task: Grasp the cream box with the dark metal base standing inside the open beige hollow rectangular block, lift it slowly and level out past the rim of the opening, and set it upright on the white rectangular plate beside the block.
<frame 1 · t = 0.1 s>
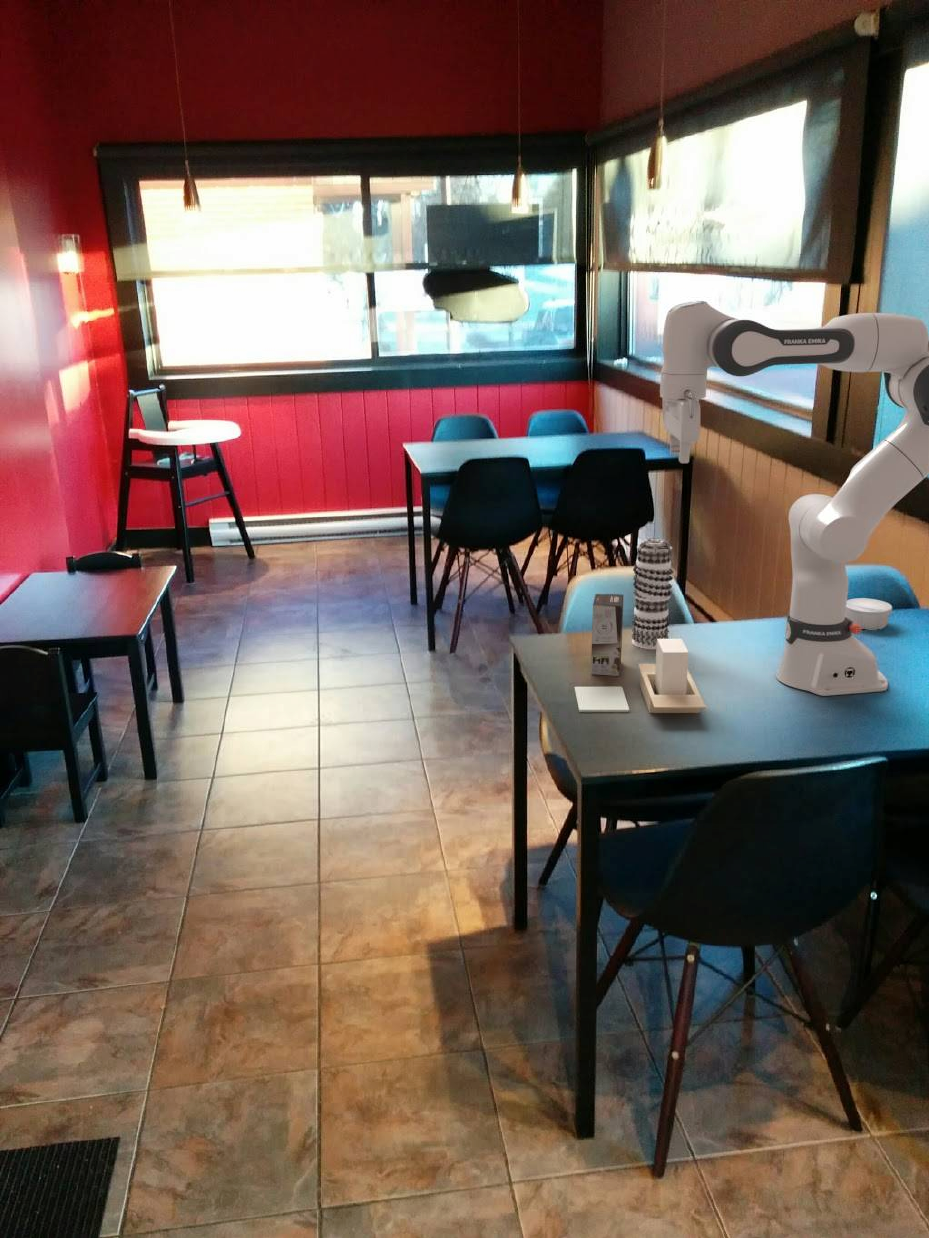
hand: (679, 458, 200), 48 cm above the table, tool pointing down, fingers open, 8 cm apart
beige hollow rectangular block: (669, 699, 205), on the table
ramekin: (865, 625, 248), on the table
white rectangular plate: (601, 700, 206), on the table
coffee box: (606, 668, 223), on the table
decorative candle: (649, 644, 237), on the table
cream box: (669, 700, 205), resting in beige hollow rectangular block
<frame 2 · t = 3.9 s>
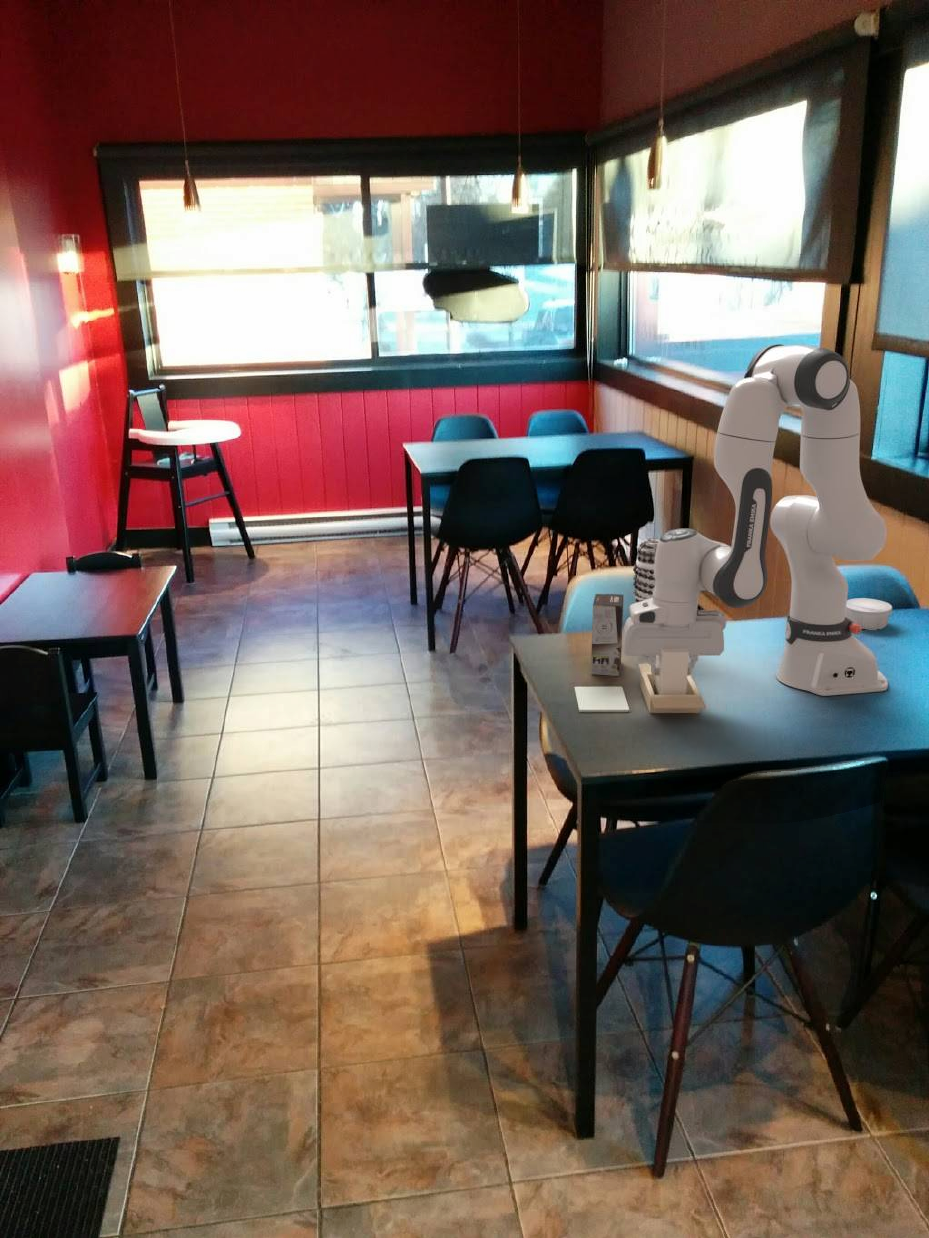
hand: (670, 674, 203), 6 cm above the table, tool pointing down, fingers closed on cream box, 5 cm apart
cream box: (669, 700, 205), resting in beige hollow rectangular block, touching gripper
everything else where it was.
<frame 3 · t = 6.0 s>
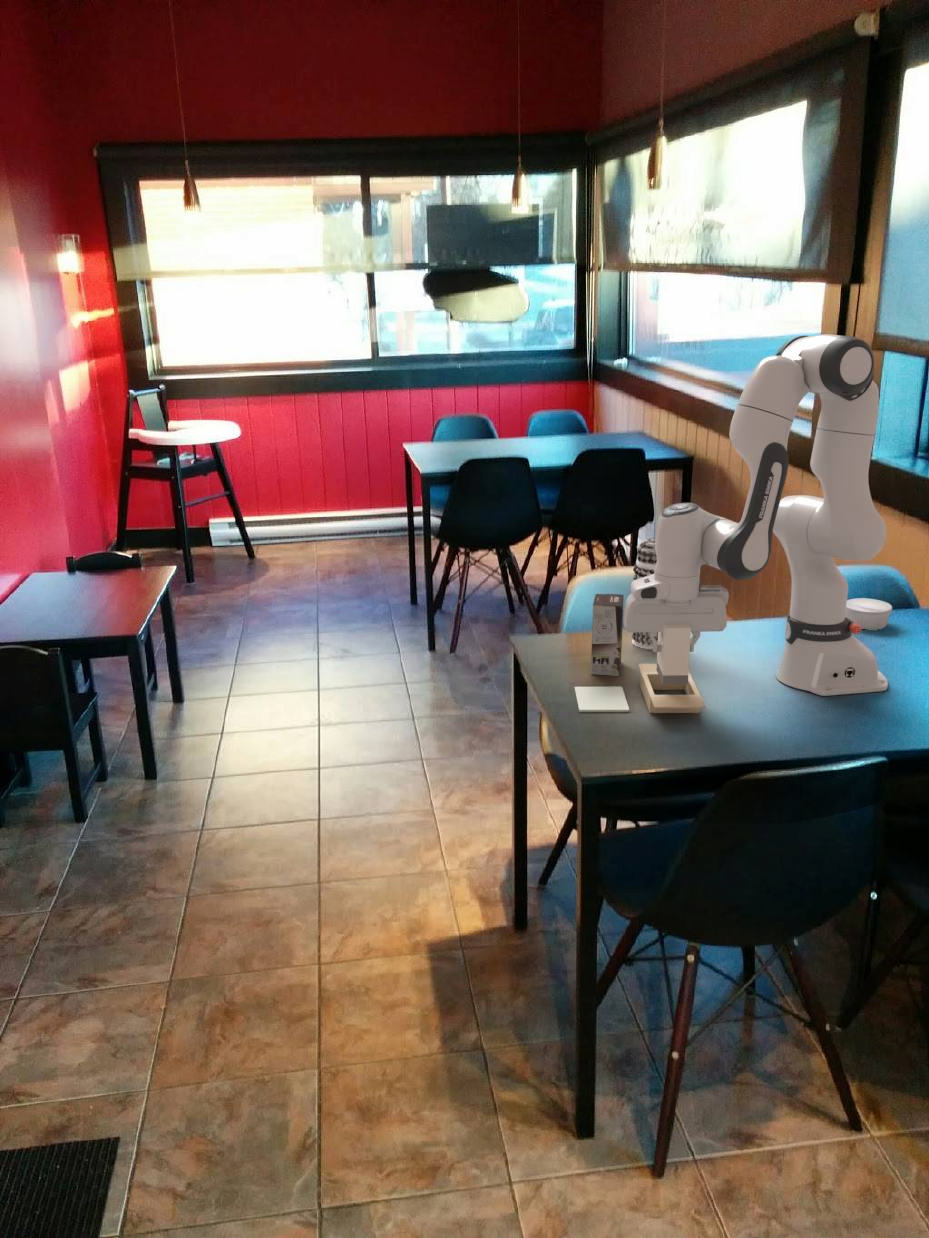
hand: (673, 651, 202), 11 cm above the table, tool pointing down, fingers closed on cream box, 5 cm apart
cream box: (671, 677, 204), point 5 cm above the table, touching gripper
everything else where it was.
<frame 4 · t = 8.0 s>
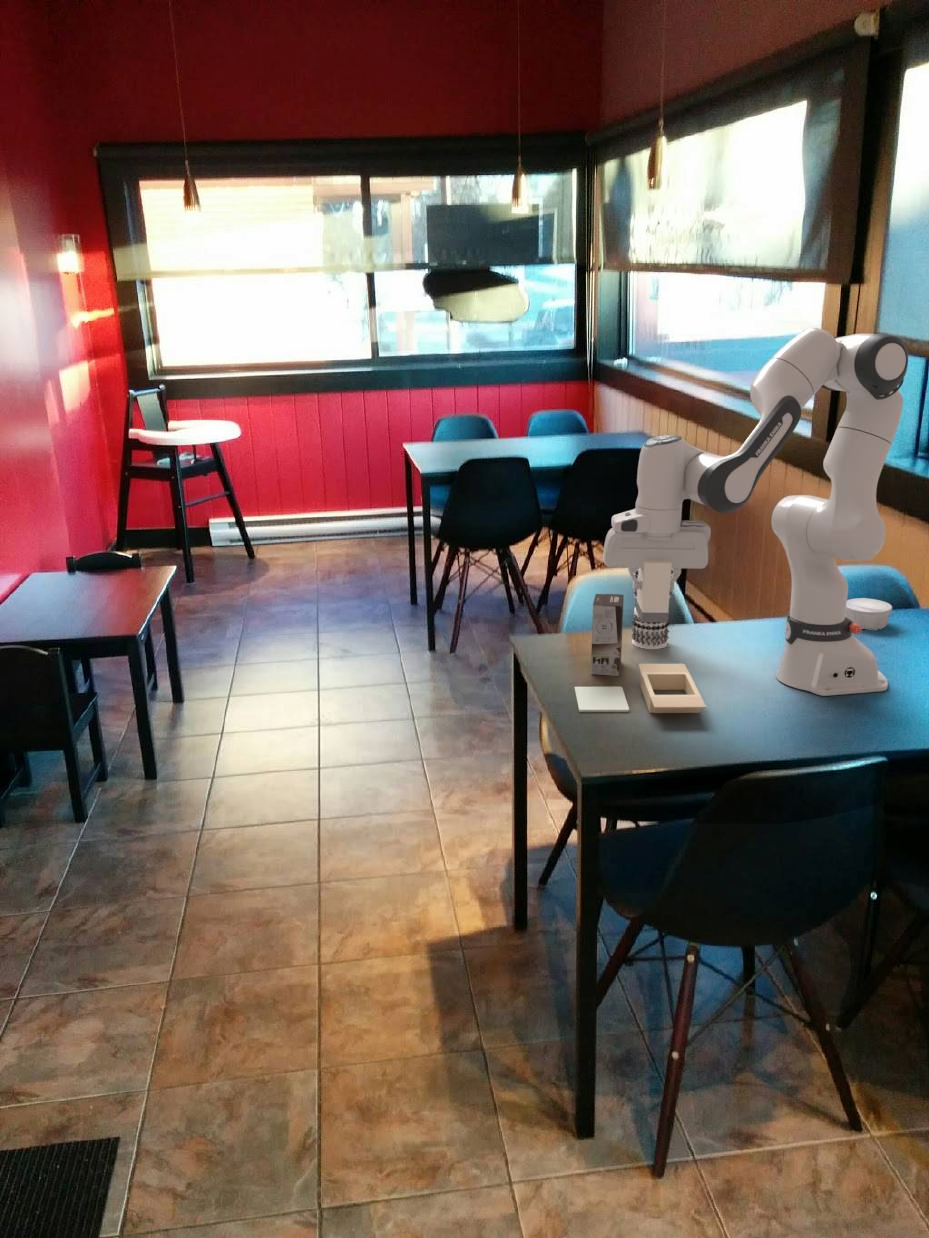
hand: (653, 588, 198), 24 cm above the table, tool pointing down, fingers closed on cream box, 5 cm apart
cream box: (651, 616, 199), point 18 cm above the table, touching gripper
everything else where it was.
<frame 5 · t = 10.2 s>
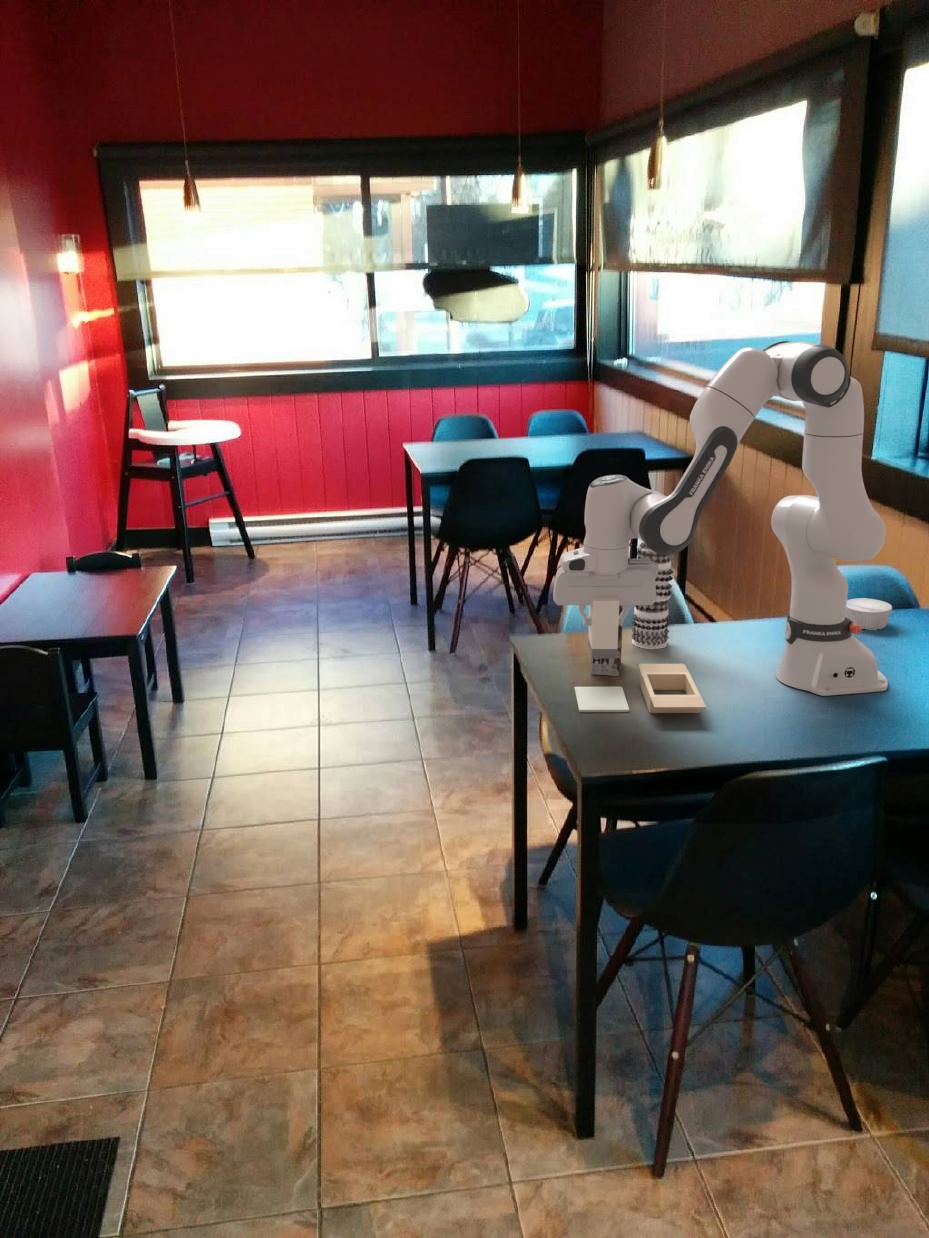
hand: (603, 625, 200), 16 cm above the table, tool pointing down, fingers closed on cream box, 5 cm apart
cream box: (602, 651, 202), point 11 cm above the table, touching gripper
everything else where it was.
when the fingers open (8 cm above the table, at t = 12.2 s): cream box drops 1 cm, resting on white rectangular plate.
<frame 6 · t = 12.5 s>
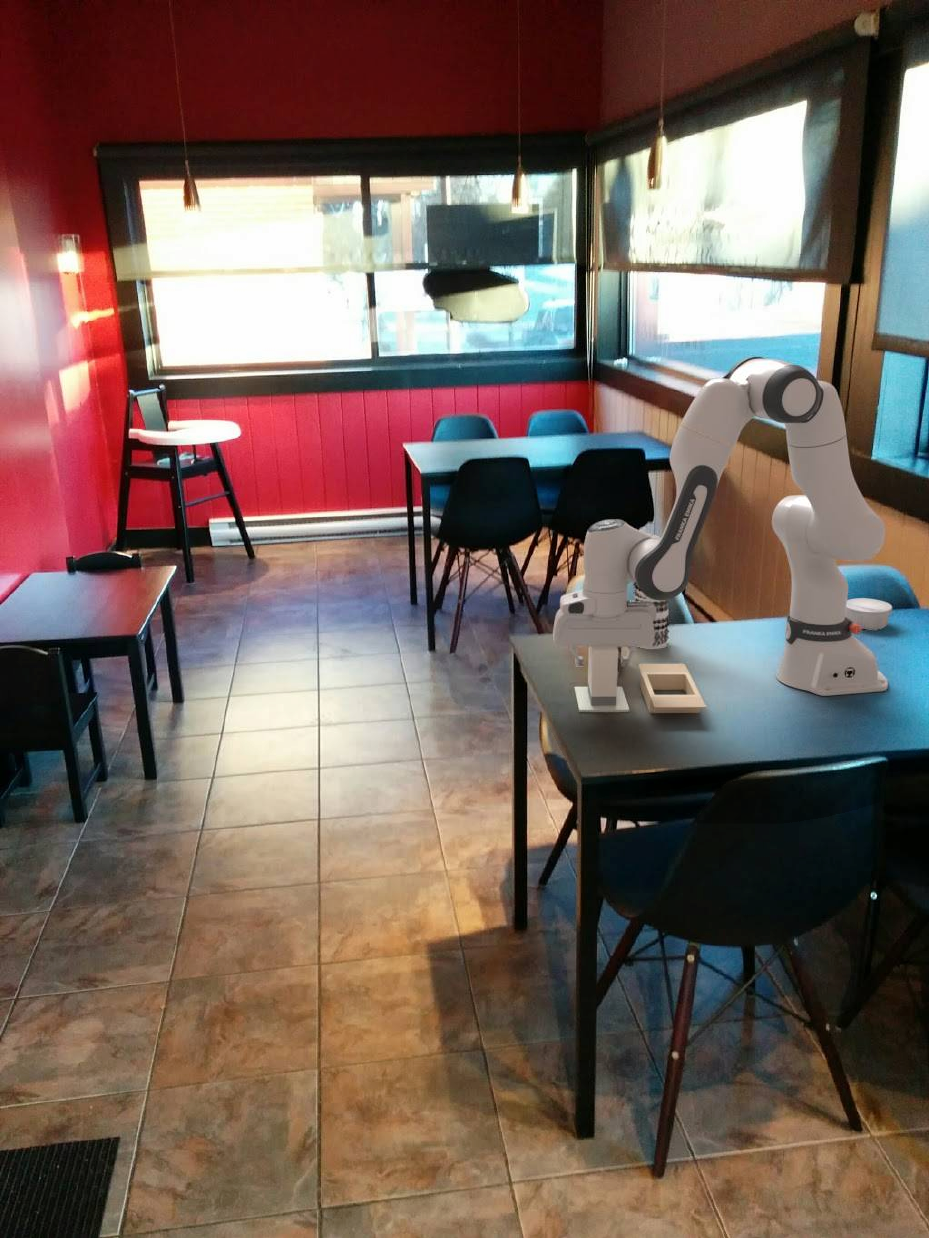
hand: (602, 665, 203), 8 cm above the table, tool pointing down, fingers open, 8 cm apart
cream box: (601, 697, 205), resting on white rectangular plate
everything else where it was.
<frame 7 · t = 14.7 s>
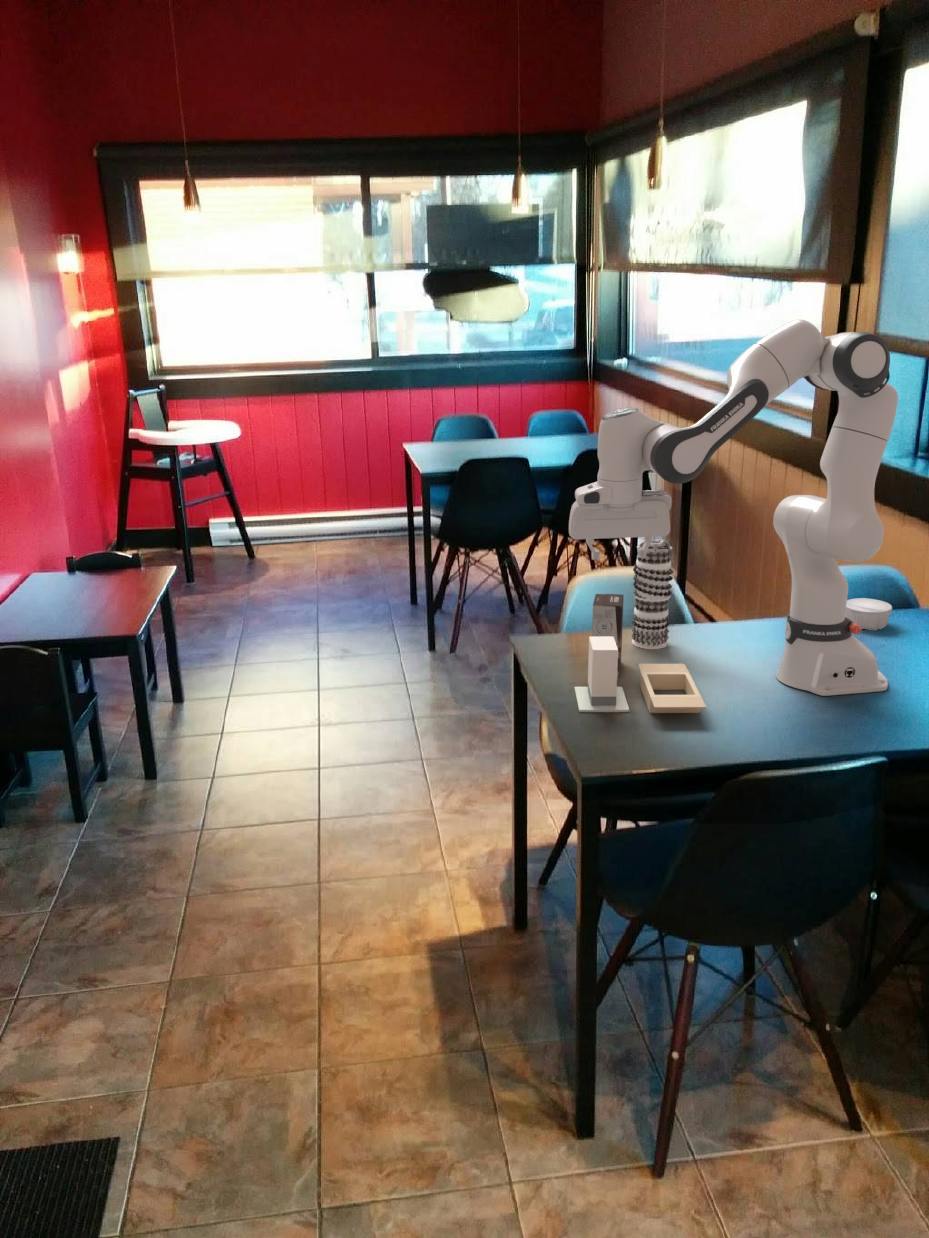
hand: (618, 558, 204), 28 cm above the table, tool pointing down, fingers open, 8 cm apart
nothing on the table moved.
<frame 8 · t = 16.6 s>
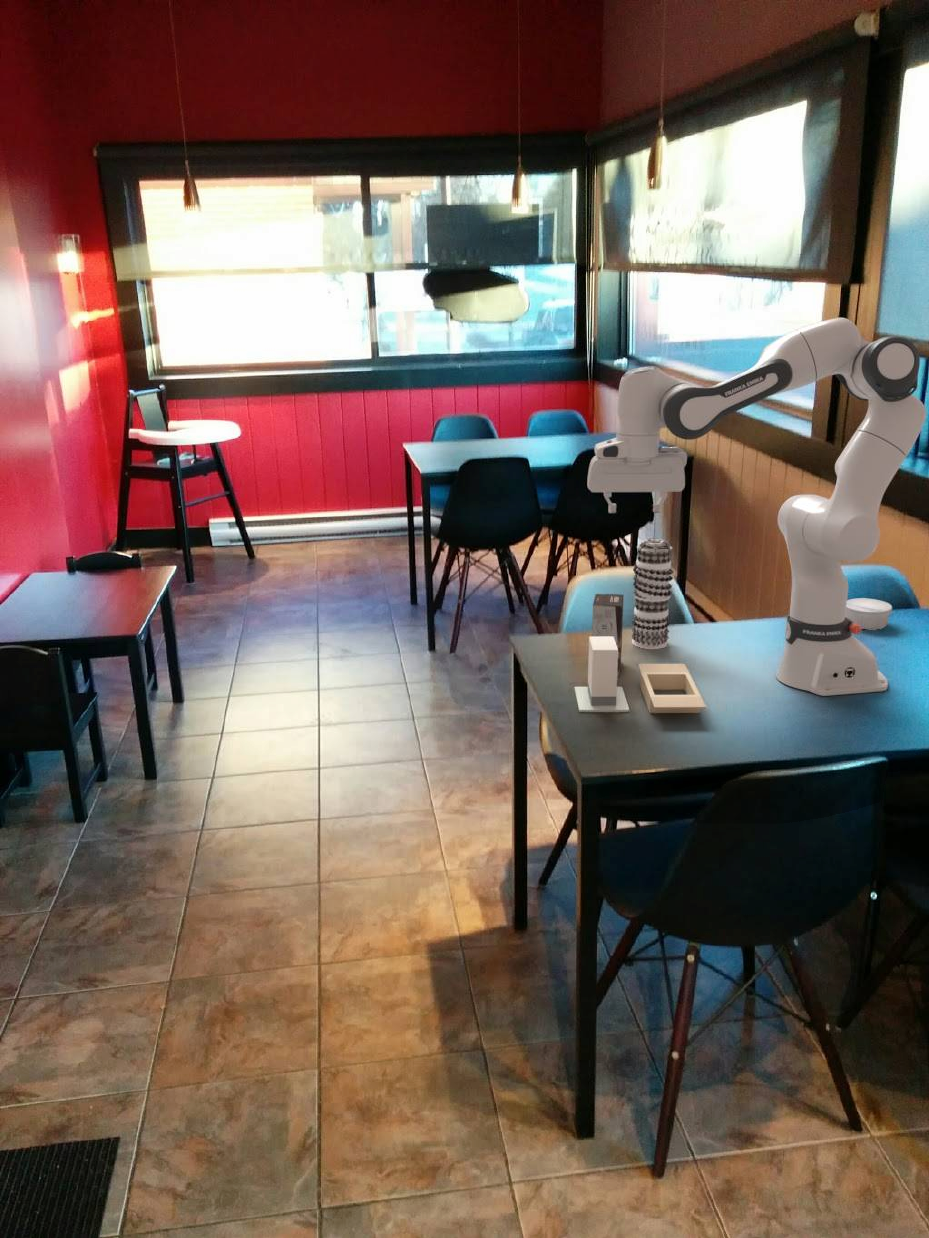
hand: (634, 512, 212), 35 cm above the table, tool pointing down, fingers open, 8 cm apart
nothing on the table moved.
at the end: cream box inside the target area on the white rectangular plate (0.1 cm from its centre), point 0.5 cm above the white rectangular plate's base; cream box tilted 0°; the gripper is holding nothing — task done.
